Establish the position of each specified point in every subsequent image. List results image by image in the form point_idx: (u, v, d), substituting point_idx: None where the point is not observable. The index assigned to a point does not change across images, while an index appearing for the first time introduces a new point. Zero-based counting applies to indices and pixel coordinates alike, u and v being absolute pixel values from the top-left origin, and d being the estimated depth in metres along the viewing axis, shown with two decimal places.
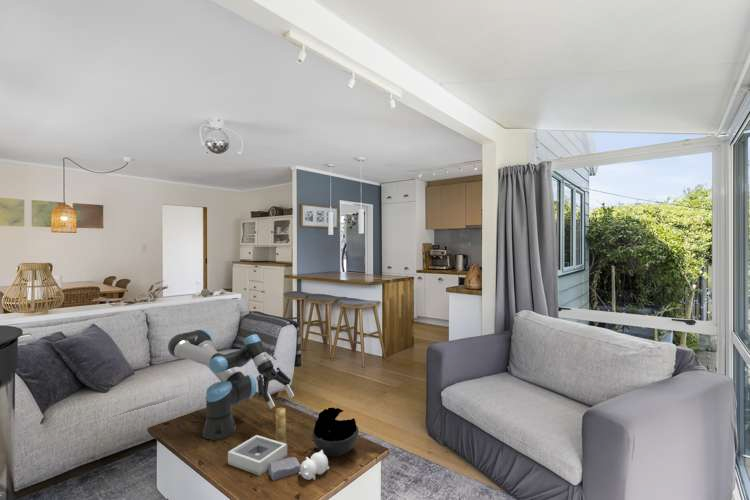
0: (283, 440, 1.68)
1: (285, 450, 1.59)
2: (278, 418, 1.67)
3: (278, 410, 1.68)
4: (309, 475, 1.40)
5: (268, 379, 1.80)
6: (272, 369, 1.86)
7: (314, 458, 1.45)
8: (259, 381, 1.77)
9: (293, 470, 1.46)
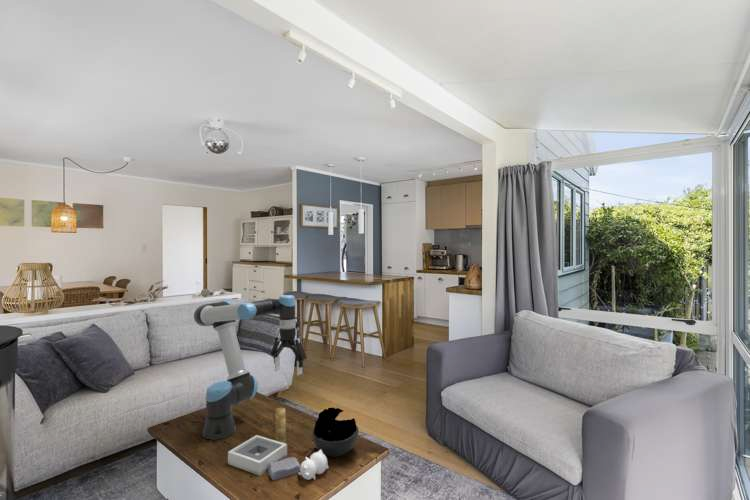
0: (283, 440, 1.68)
1: (285, 450, 1.59)
2: (278, 418, 1.67)
3: (278, 410, 1.68)
4: (310, 475, 1.40)
5: (280, 346, 1.76)
6: (290, 338, 1.74)
7: (313, 458, 1.45)
8: None
9: (292, 470, 1.46)
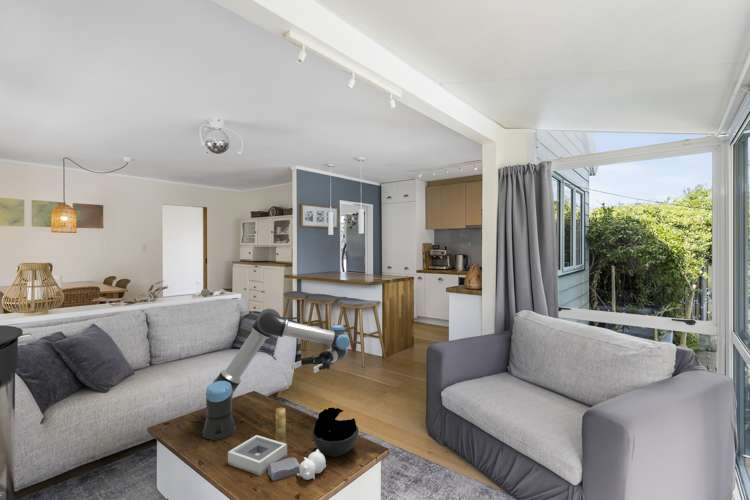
0: (283, 440, 1.68)
1: (285, 450, 1.59)
2: (278, 418, 1.67)
3: (278, 410, 1.68)
4: (310, 475, 1.40)
5: None
6: None
7: (312, 458, 1.45)
8: (330, 363, 1.93)
9: (293, 471, 1.46)
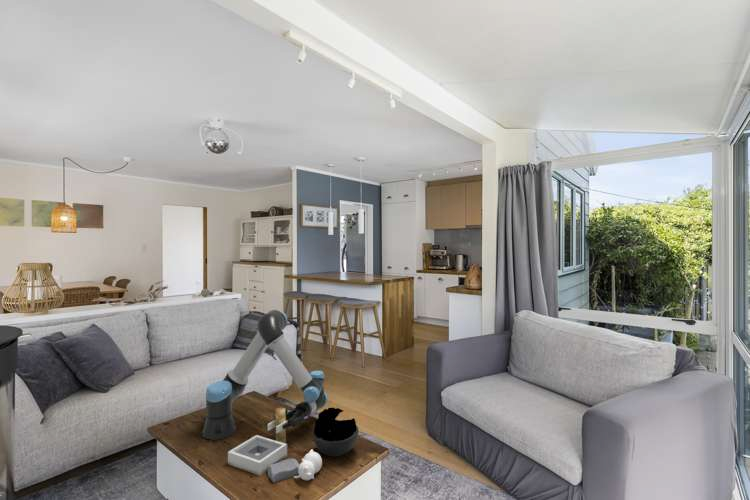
0: (283, 440, 1.68)
1: (285, 450, 1.59)
2: (278, 418, 1.67)
3: (278, 410, 1.68)
4: (311, 475, 1.40)
5: None
6: None
7: (310, 458, 1.45)
8: (302, 419, 1.74)
9: (293, 471, 1.45)
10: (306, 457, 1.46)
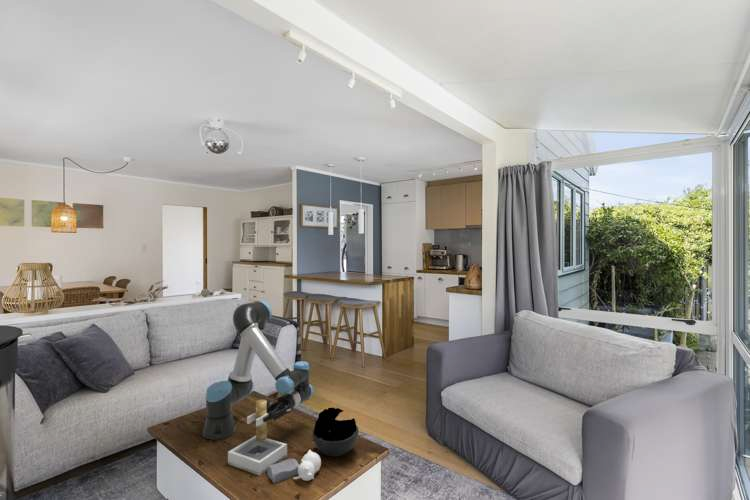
0: (264, 434, 1.57)
1: (285, 450, 1.59)
2: (258, 411, 1.56)
3: (259, 402, 1.57)
4: (311, 475, 1.40)
5: None
6: None
7: (309, 459, 1.45)
8: (285, 411, 1.63)
9: (293, 472, 1.45)
10: (305, 457, 1.46)
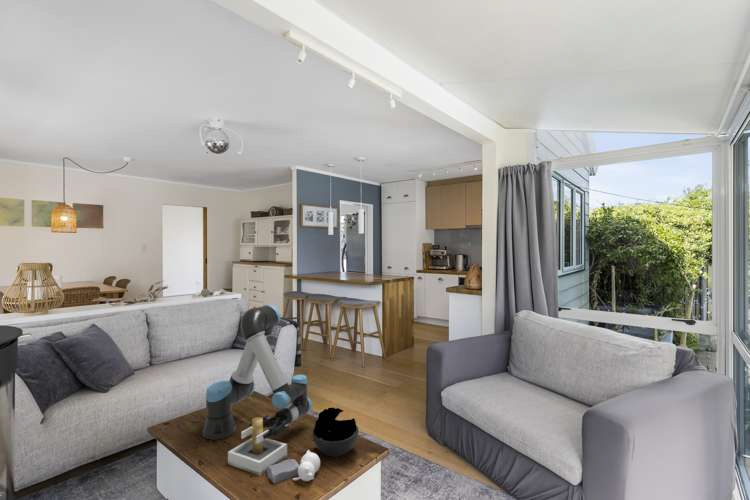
0: (260, 453, 1.56)
1: (285, 450, 1.59)
2: (254, 429, 1.55)
3: (255, 420, 1.56)
4: None
5: None
6: None
7: (309, 459, 1.45)
8: (284, 427, 1.62)
9: (293, 472, 1.45)
10: (304, 458, 1.45)
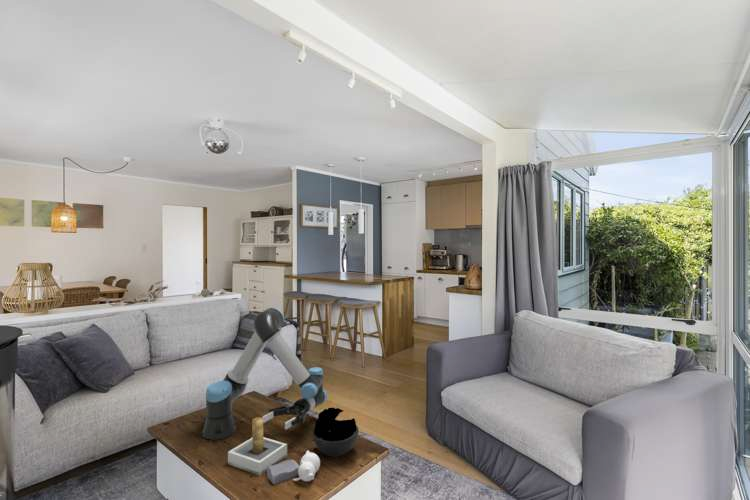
0: (260, 453, 1.56)
1: (285, 450, 1.59)
2: (255, 429, 1.55)
3: (255, 420, 1.56)
4: (312, 475, 1.40)
5: None
6: None
7: (309, 459, 1.45)
8: (306, 414, 1.74)
9: (293, 473, 1.44)
10: (304, 458, 1.45)
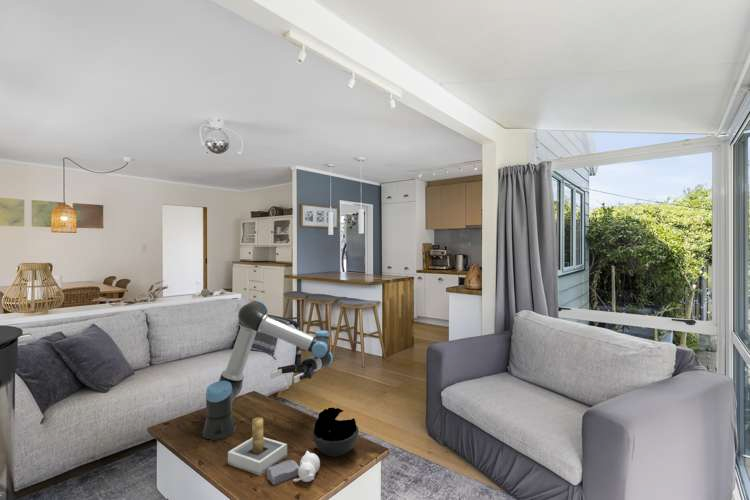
0: (260, 453, 1.56)
1: (285, 450, 1.59)
2: (255, 429, 1.55)
3: (255, 420, 1.56)
4: None
5: None
6: None
7: (309, 460, 1.44)
8: (313, 371, 1.80)
9: (293, 473, 1.44)
10: (304, 459, 1.45)
